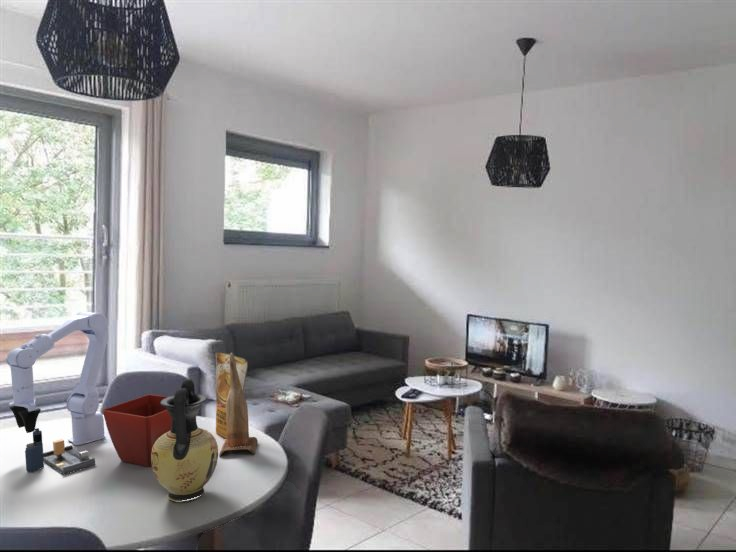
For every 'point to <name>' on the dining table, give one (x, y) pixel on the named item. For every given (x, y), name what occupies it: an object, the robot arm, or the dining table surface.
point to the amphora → (184, 447)
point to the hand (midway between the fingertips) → (26, 429)
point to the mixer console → (69, 460)
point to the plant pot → (137, 427)
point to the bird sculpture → (237, 416)
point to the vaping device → (34, 452)
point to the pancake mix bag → (226, 387)
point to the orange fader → (59, 447)
